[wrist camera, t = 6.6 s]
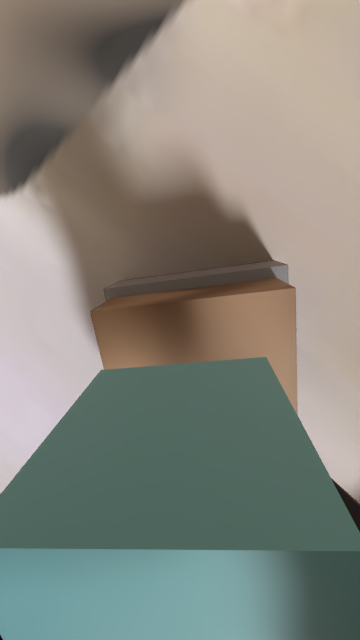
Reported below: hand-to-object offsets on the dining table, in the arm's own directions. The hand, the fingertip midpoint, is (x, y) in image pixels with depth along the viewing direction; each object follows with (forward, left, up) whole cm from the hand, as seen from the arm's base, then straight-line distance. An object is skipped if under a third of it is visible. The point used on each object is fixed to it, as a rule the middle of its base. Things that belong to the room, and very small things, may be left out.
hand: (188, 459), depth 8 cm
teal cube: (0, 0, -1) cm, 1 cm away
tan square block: (0, +1, -8) cm, 8 cm away
